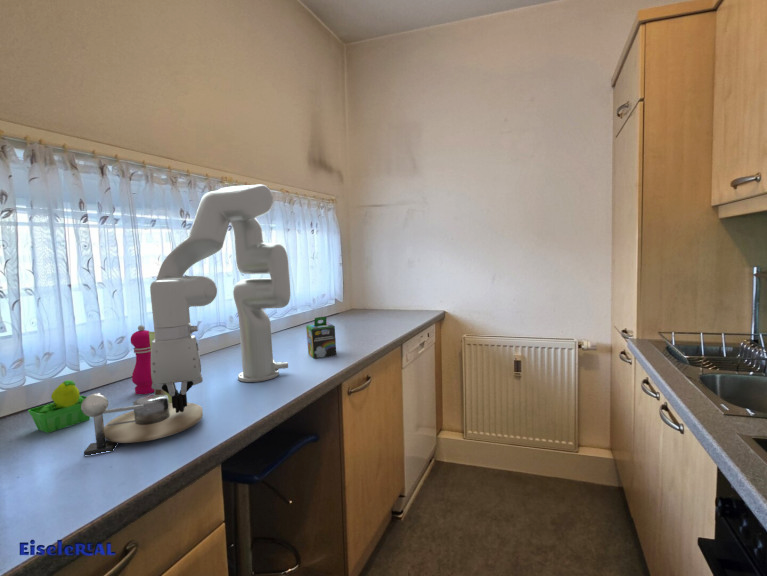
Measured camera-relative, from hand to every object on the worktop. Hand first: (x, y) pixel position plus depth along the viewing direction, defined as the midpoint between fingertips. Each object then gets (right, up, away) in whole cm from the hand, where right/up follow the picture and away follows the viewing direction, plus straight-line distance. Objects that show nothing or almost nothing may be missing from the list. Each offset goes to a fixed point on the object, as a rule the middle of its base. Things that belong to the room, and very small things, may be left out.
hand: (180, 410), depth 99 cm
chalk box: (+24, +3, +63) cm, 67 cm away
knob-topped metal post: (-8, -5, -10) cm, 14 cm away
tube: (-12, -3, +17) cm, 21 cm away
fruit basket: (-30, -5, +4) cm, 31 cm away
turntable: (-5, -3, -1) cm, 6 cm away
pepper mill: (-23, -3, +27) cm, 36 cm away
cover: (-5, -1, -2) cm, 6 cm away
